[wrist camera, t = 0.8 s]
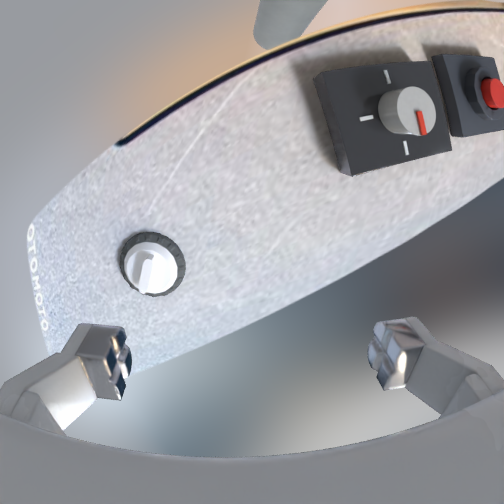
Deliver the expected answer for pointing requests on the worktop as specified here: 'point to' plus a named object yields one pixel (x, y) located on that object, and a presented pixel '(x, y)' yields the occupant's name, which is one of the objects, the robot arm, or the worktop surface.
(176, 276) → the stove knob
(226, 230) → the worktop surface
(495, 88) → the button
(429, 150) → the hob knob base
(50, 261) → the worktop surface
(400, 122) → the knob
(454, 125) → the block
